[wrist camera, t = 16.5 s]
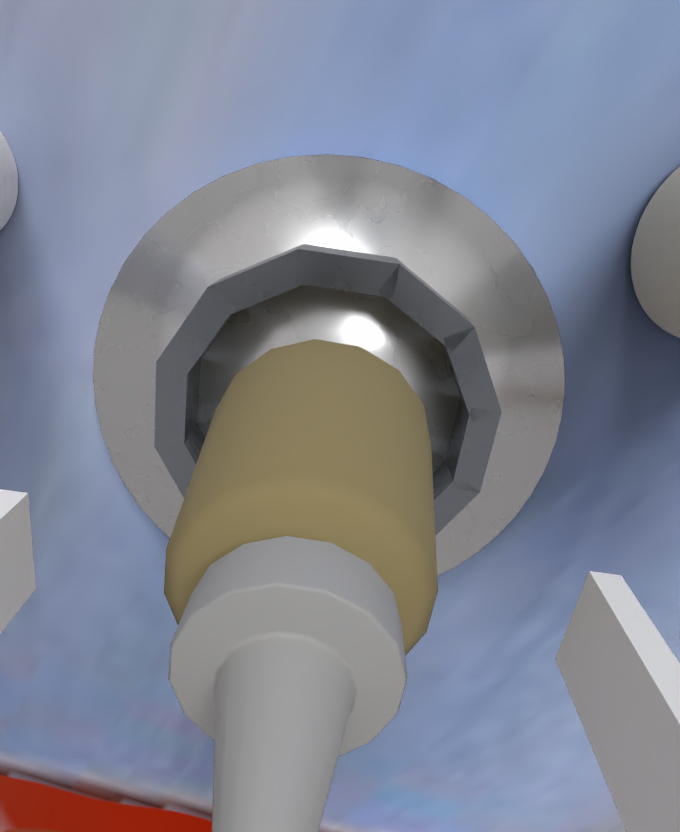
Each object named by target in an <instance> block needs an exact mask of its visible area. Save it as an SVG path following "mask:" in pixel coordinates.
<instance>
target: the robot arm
mask: <svg viewBox="0 0 680 832" xmlns="http://www.w3.org/2000/svg"><path fill="white" fill-rule="evenodd" d="M35 590H36V580H35V568H34V556H33V544H32V532H31V520H30V508H29V496H28V493H25V492H17V491H10V490H3V489H0V634H1V632H2V631H3V630H4V629H5V627H6V626H7V625H8V624H9V622H10V621H11V620H12V619H13V617H14V616H15V615H16V614H17V612H18V611H19V610H20V608H21V607H22V606H23V605H24V603H25V602H26V601H27V600H28V598H29V597H30V596H31V595H32V593H33V592H34V591H35ZM555 659H556V661H557V664H558V666H559V669H560V671H561V673H562V676H563V678H564V681H565V683H566V686H567V688H568V691H569V693H570V695H571V698H572V700H573V703H574V705H575V708H576V710H577V712H578V715H579V717H580V720H581V722H582V725H583V727H584V729H585V732H586V734H587V737H588V739H589V742H590V744H591V747H592V749H593V751H594V754H595V756H596V759H597V761H598V764H599V766H600V768H601V771H602V773H603V776H604V778H605V781H606V783H607V786H608V788H609V790H610V793H611V795H612V798H613V800H614V803H615V805H616V807H617V810H618V812H619V815H620V817H621V820H622V822H623V824H624V827H625V829H626V832H680V663H679V662H678V660H677V659H676V657H675V656H674V654H673V653H672V651H671V650H670V648H669V647H668V645H667V644H666V642H665V641H664V639H663V638H662V636H661V635H660V633H659V632H658V630H657V629H656V627H655V626H654V624H653V623H652V621H651V620H650V618H649V617H648V615H647V614H646V612H645V611H644V609H643V608H642V606H641V605H640V603H639V601H638V600H637V598H636V597H635V595H634V594H633V592H632V591H631V589H630V588H629V586H628V585H627V583H626V582H625V580H624V579H623V577H622V576H621V575H615V574H608V573H601V572H593V571H589V573H588V576H587V578H586V581H585V583H584V586H583V588H582V591H581V594H580V596H579V599H578V601H577V604H576V607H575V609H574V612H573V614H572V617H571V619H570V622H569V625H568V627H567V630H566V632H565V635H564V638H563V640H562V643H561V645H560V648H559V650H558V653H557V656H556V658H555Z"/></svg>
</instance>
